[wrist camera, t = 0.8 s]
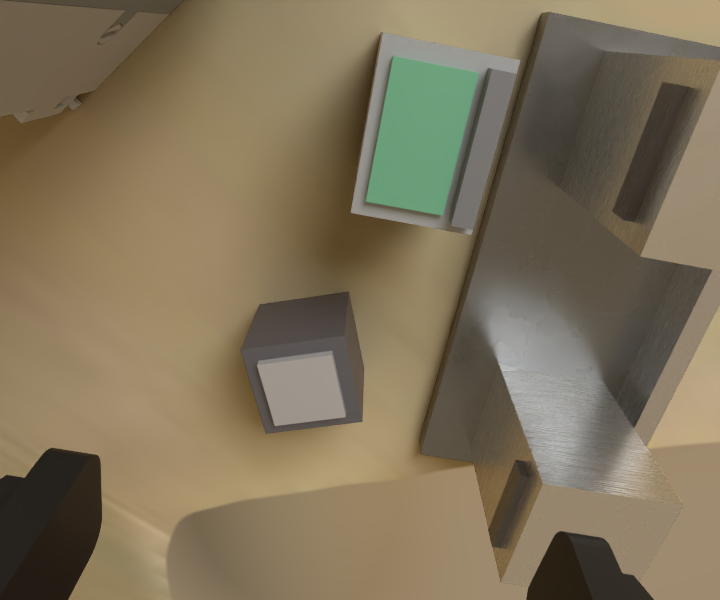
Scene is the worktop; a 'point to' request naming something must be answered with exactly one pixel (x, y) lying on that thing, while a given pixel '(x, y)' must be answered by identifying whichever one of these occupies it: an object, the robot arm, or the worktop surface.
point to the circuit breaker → (67, 49)
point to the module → (431, 132)
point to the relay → (305, 363)
